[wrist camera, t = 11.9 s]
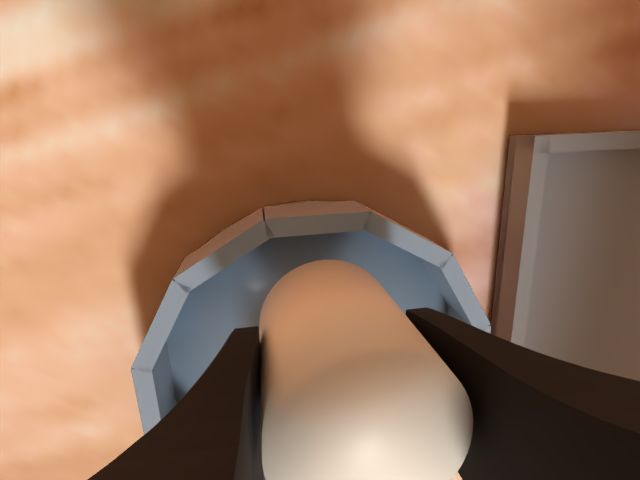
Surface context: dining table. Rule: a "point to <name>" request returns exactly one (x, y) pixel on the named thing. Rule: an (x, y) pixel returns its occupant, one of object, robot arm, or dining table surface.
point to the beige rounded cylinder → (353, 384)
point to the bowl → (267, 269)
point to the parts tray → (572, 249)
